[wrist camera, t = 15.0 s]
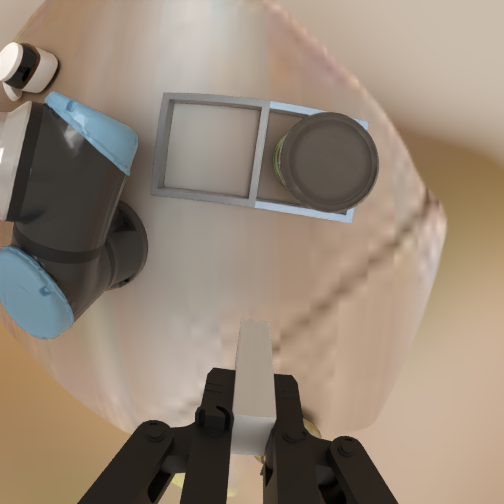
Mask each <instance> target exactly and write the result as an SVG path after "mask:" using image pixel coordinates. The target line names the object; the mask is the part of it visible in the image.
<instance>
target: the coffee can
mask: <svg viewBox="0 0 504 504" xmlns="http://www.w3.org/2000/svg"><path fill="white" fill-rule="evenodd" d="M273 166H274V170H275V173H276V176H277V178H278V179H279V181H280V182H281V183H282V185H283V186H284V187H286V188H287V189H288V190H290V192H291V193H292V194H293V195H294V196H295V197H296V199H298V200H299V201H300V202H301V203H303V204H304V205H305V206H307V207H309V208H311V209H313V210H316V211H320V212H324V213H338V212H343V211H347V210H349V209H352V208H354V207H355V206H357V205H358V204H360V203H361V202H362V201H364V199H365V198H366V197H367V196H368V195H369V194H370V192H371V191H372V189H373V187H374V185H375V183H376V180H377V176H378V172H379V157H378V152H377V149H376V146H375V143H374V141H373V140H372V138H371V136H370V135H369V133H368V132H367V131H366V130H365V129H364V127H363V126H362V125H360V124H359V123H358V122H357V121H355V120H354V119H352V118H350V117H348V116H346V115H343V114H339V113H334V112H321V113H316V114H313V115H310V116H308V117H306V118H304V119H302V120H301V121H299V122H298V123H297V124H296V125H295V126H294V127H293V128H292V129H291V130H290V132H288V133H287V134H285V135H284V136H283V137H282V138H281V139H280V141H279V142H278V144H277V146H276V148H275V151H274V154H273Z"/></svg>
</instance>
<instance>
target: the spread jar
mask: <svg viewBox="0 0 504 504" xmlns="http://www.w3.org/2000/svg"><path fill="white" fill-rule="evenodd" d="M57 69H58V60H57V58H56V57H55V56H54V55H53V54H51V53H50V52H48V51H45V50H43V49H41V48H38V47H35V46H33V45H30V44H27V43H19V44H17V43H10V44H8V45H7V46H6V47H5V48H4V49H3V50H2V51H1V53H0V81H2V82H3V86H4V89H5V92H6V94H7V95H8V97H9V98H10V99H11V100H12V101H16V100H17V99H19V98H20V97H21V96H22V91H27V92H33V93H39V92H41V91H43V90H44V89H45V88H46V87H47V86H48V85H49V83H50V82H51V81H52V79H53V77H54V76H55V74H56V71H57Z"/></svg>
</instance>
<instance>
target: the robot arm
mask: <svg viewBox="0 0 504 504" xmlns="http://www.w3.org/2000/svg"><path fill="white" fill-rule="evenodd" d="M44 102H45V103H44V104H42V103H38V102H33V101H27V102H25V103H24V104H22V105H21V106H19V107H18V108H16V109H15V110H13V111H12V112H8V113H6V112H0V220H1V221H10V222H14V227H13V234H12V242H11V244H10V245H7V246H4V247H2V248H1V250H0V302H1V304H2V305H3V307H4V308H5V310H6V312H7V313H8V315H9V316H10V317H11V318H12V320H13V321H14V322H15V323H16V324H17V325H18V326H19V327H20V328H22V329H23V330H24V331H25V332H27V333H28V334H30V335H32V336H34V337H36V338H39V339H45V340H47V339H54V338H56V337H58V336H59V335H61V334H62V333H63V332H65V331H66V330H67V329H69V328H70V327H72V325H73V323H74V322H75V321H76V320H77V319H78V318H79V317H80V316H81V315H82V314H83V313H84V312H85V310H86V309H87V308H88V307H89V306H90V305H91V304H92V303H93V302H94V301H95V300H96V299H97V298H98V297H99V296H100V295H101V294H102V293H103V292H104V291H107V290H111V289H116V288H120V287H122V286H124V285H126V284H128V283H129V282H131V281H132V280H133V279H134V278H135V277H136V276H137V275H138V274H139V272H140V271H141V270H142V268H143V266H144V264H145V261H146V257H147V251H148V243H147V236H146V232H145V229H144V227H143V224H142V222H141V220H140V219H139V217H138V216H137V214H136V213H135V212H134V211H133V210H132V209H131V208H130V207H129V206H128V205H126V204H125V203H123V202H121V201H119V198H120V196H121V193H122V190H123V187H124V184H125V182H126V179H127V177H128V176H130V174H131V172H130V168H131V165H132V162H133V159H134V156H135V154H136V151H137V148H138V143H139V141H138V136H137V134H136V132H135V131H134V130H133V129H132V128H130V127H129V126H127V125H125V124H123V123H121V122H119V121H117V120H115V119H113V118H111V117H109V116H107V115H105V114H103V113H100V112H98V111H96V110H94V109H92V108H90V107H88V106H86V105H84V104H82V103H80V102H77V101H75V100H73V99H71V98H69V97H66V96H64V95H62V94H60V93H58V92H55V91H52V92H50V93H49V95H48V96H47V97H46V98H45V100H44ZM230 453H232V454H241V455H254V456H264V453H265V462H264V465H263V467H262V470H261V473H260V475H263V504H398V502H397V501H396V499H395V497H394V496H393V494H392V493H391V491H390V489H389V488H388V486H387V485H386V483H385V481H384V480H383V478H382V476H381V475H380V473H379V472H378V470H377V468H376V467H375V465H374V464H373V462H372V460H371V459H370V457H369V455H368V454H367V452H366V451H365V449H364V447H363V446H362V444H361V443H360V442H359V441H358V440H357V439H355V438H353V437H349V436H340V437H338V438H336V439H334V440H333V441H328V440H324V439H320V438H317V437H315V436H313V435H311V434H310V433H309V431H308V430H307V429H306V428H305V426H304V422H303V415H302V409H301V402H300V396H299V390H298V383H297V382H296V380H295V379H294V378H293V376H292V375H282V374H273V359H272V345H271V331H270V322H265V321H257V320H249V319H241V325H240V332H239V339H238V346H237V353H236V361H235V370H228V369H221V368H213V369H212V370H211V371H210V372H209V373H208V375H207V379H206V384H205V389H204V393H203V398H202V403H201V406H200V407H198V408H197V410H196V412H195V422H194V423H192V424H190V425H188V426H184V427H174V428H170V426H169V425H167V424H166V423H164V422H161V421H158V420H149V421H146V422H143V423H142V424H141V425H139V426H138V428H137V429H136V430H135V431H134V433H133V434H132V435H131V437H130V438H129V439H128V440H127V442H126V443H125V444H124V446H123V447H122V448H121V449H120V451H119V452H118V453H117V454H116V456H115V457H114V458H113V459H112V461H111V462H110V463H109V465H108V466H107V467H106V468H105V470H104V471H103V472H102V473H101V475H100V476H99V477H98V478H97V480H96V481H95V482H94V483H93V485H92V486H91V487H90V488H89V490H88V491H87V492H86V493H85V495H84V496H83V497H82V498H81V500H80V501H79V502H78V503H77V504H158V502H159V500H160V499H161V497H162V495H163V494H164V492H165V490H166V489H167V487H168V485H169V484H170V482H171V480H172V479H173V477H174V475H175V473H186V474H185V479H184V484H183V489H182V495H181V500H180V504H226V500H227V488H228V476H229V463H230Z"/></svg>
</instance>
